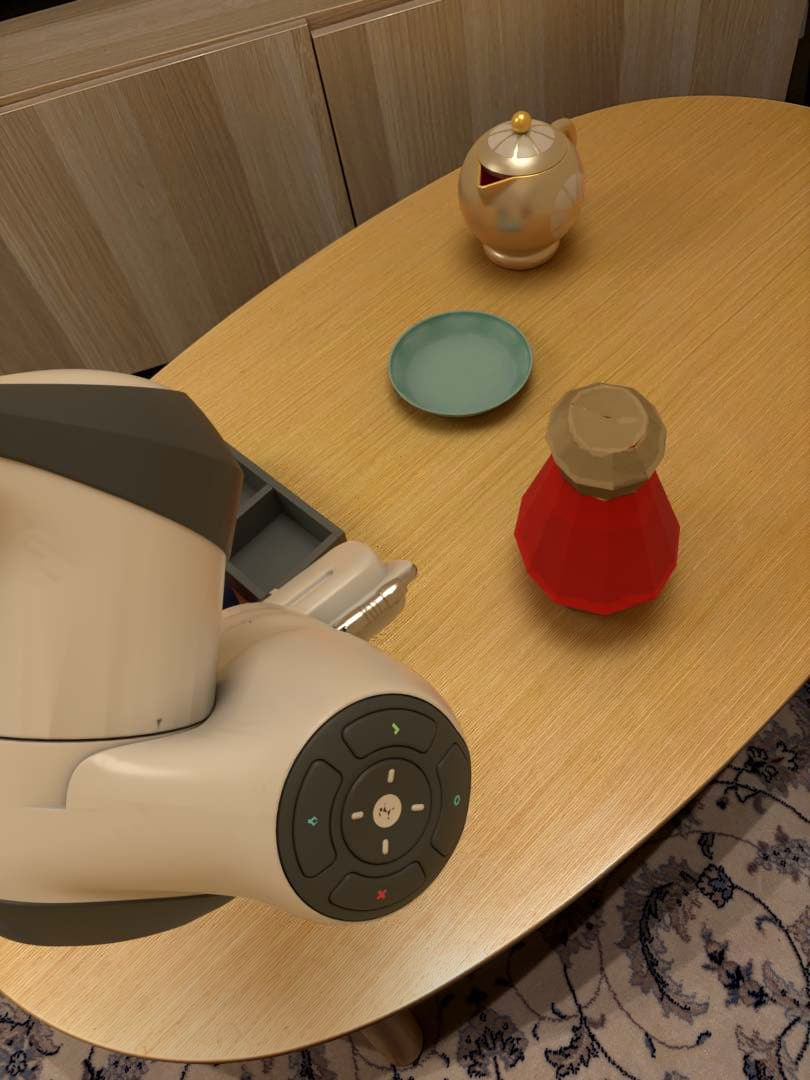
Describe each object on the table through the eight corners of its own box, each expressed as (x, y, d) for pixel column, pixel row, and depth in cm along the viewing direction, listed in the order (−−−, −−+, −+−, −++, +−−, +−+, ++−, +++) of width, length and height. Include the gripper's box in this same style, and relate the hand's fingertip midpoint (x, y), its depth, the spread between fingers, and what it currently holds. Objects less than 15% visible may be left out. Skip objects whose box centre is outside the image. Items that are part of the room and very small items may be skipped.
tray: (205, 700, 73) (187, 677, 69) (85, 582, 81) (63, 556, 77) (353, 560, 79) (344, 531, 75) (228, 463, 87) (214, 432, 83)
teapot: (534, 307, 94) (537, 173, 81) (435, 264, 100) (422, 132, 86) (620, 215, 101) (636, 77, 87) (522, 180, 107) (523, 45, 93)
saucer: (561, 366, 89) (562, 347, 87) (470, 456, 84) (468, 438, 82) (452, 308, 96) (451, 289, 94) (362, 389, 91) (358, 371, 89)
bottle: (683, 645, 71) (734, 507, 55) (518, 650, 73) (518, 517, 56) (657, 491, 80) (693, 330, 63) (510, 498, 81) (507, 343, 64)
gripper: (396, 516, 43) (315, 512, 55) (30, 794, 37) (34, 719, 49) (461, 616, 44) (368, 591, 57) (121, 899, 38) (102, 799, 51)
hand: (210, 652), depth 53 cm, fingers open, 8 cm apart
